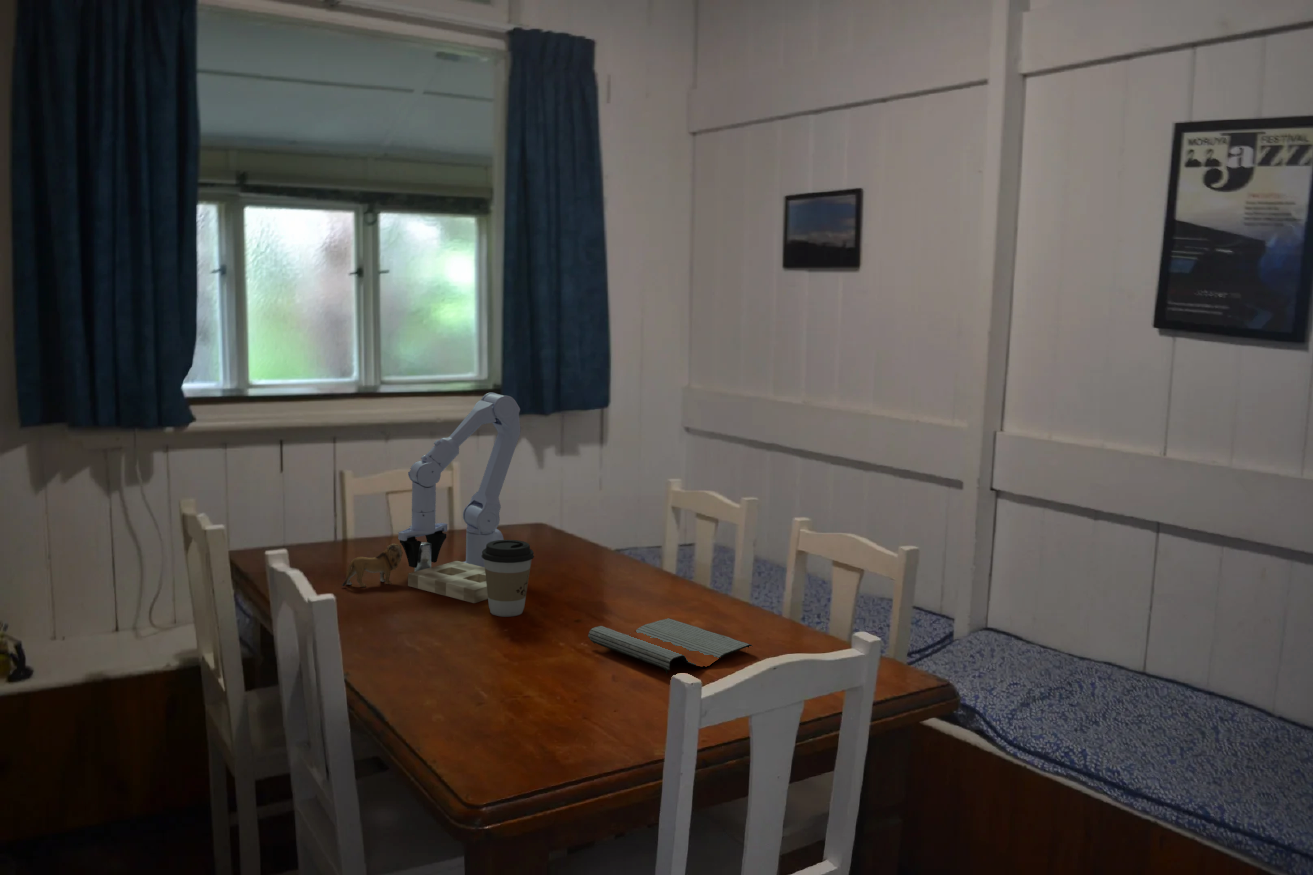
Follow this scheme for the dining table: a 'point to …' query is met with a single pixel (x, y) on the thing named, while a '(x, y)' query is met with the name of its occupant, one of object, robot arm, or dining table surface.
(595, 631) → the mat
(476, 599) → the jig plate
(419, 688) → the dining table surface
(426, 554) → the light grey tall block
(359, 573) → the lion figurine
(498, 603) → the coffee cup
